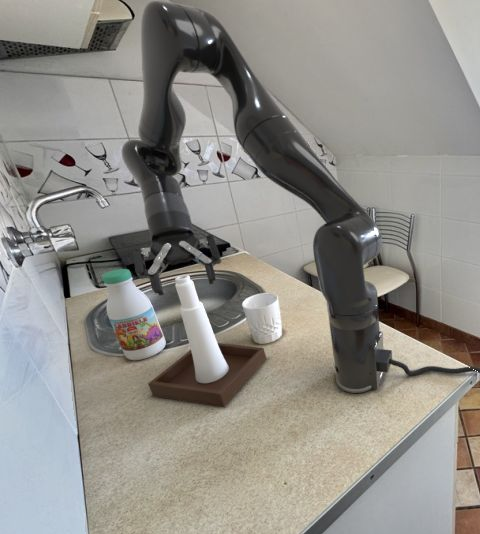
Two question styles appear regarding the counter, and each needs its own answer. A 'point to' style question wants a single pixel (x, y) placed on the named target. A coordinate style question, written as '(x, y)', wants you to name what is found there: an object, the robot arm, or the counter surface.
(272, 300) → the white cup
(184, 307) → the cosmetic bottle
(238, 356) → the tray
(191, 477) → the counter surface
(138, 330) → the milk bottle
